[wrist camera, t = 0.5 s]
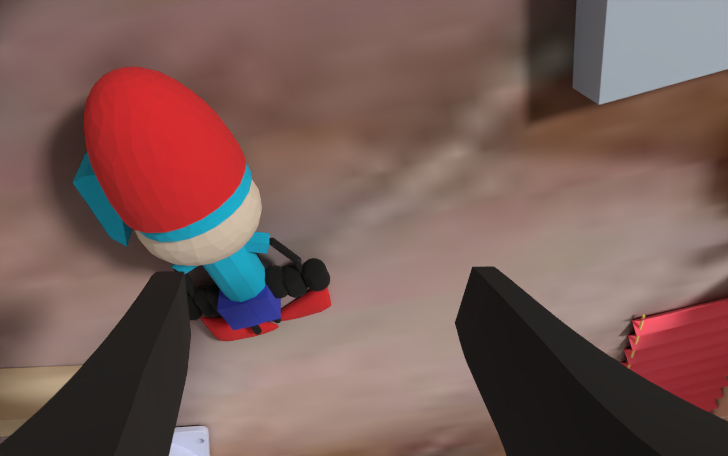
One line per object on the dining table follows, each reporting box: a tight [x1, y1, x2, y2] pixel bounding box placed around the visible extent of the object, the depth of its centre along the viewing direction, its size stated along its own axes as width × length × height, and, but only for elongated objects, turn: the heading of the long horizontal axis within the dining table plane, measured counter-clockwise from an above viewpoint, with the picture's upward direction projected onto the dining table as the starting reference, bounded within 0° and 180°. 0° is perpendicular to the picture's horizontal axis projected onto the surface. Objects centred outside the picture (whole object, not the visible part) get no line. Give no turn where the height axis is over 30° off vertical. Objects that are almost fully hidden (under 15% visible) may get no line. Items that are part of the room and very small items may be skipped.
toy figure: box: [73, 67, 331, 341], centre depth 20 cm, size 8×5×15 cm
